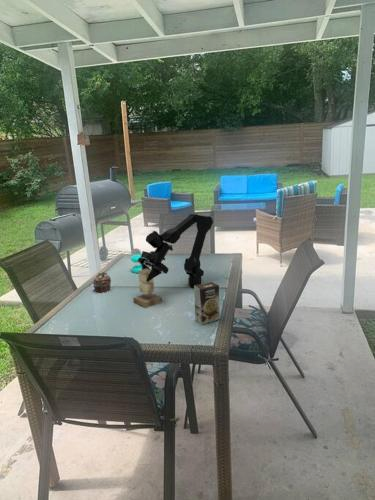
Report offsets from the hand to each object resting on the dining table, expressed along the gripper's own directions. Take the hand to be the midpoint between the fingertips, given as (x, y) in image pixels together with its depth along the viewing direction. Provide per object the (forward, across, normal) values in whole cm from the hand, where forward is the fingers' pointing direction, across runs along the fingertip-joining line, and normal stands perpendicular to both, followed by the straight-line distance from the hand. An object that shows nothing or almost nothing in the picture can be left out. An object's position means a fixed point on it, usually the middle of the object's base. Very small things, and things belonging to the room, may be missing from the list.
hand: (143, 279), depth 190 cm
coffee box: (+4, +37, +14) cm, 39 cm away
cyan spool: (-12, -46, +29) cm, 56 cm away
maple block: (+4, 0, +6) cm, 7 cm away
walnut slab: (+8, 0, +10) cm, 13 cm away
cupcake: (+12, -34, +5) cm, 36 cm away
